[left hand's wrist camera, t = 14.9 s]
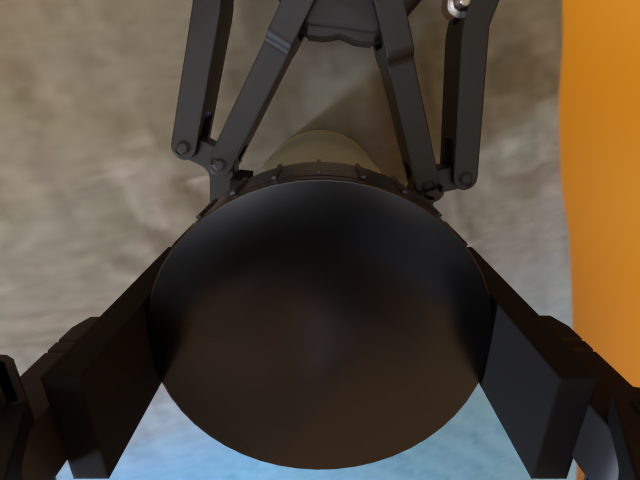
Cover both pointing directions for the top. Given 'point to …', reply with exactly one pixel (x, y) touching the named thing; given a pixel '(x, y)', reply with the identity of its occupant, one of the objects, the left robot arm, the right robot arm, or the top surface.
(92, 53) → the top surface
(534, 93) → the top surface
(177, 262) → the lid
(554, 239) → the top surface
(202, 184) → the top surface
